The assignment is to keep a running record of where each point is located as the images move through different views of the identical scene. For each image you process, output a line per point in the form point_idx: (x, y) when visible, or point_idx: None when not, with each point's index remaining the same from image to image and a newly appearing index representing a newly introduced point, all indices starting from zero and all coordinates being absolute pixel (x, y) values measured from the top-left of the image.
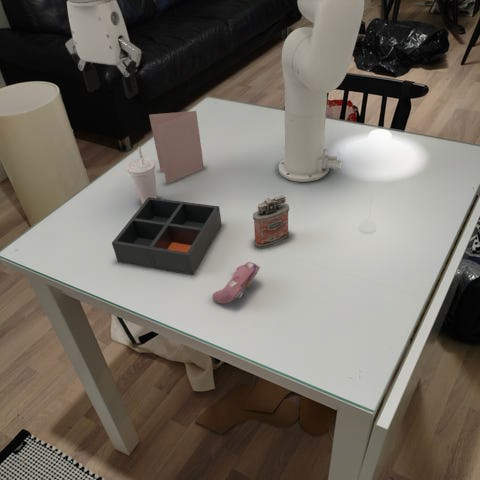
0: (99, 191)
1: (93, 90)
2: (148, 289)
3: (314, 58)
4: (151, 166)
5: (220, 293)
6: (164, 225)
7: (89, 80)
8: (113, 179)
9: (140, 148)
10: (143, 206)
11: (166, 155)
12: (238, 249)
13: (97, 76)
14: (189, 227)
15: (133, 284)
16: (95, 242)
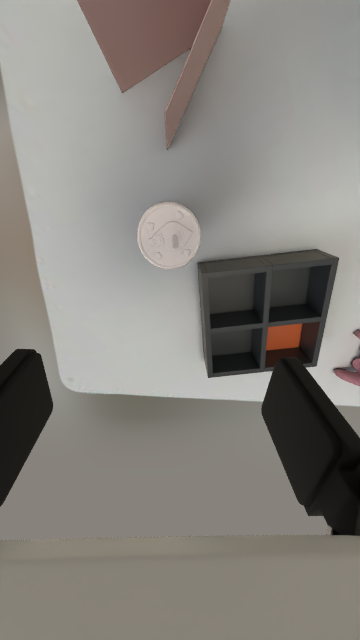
0: (55, 225)
1: (50, 394)
2: (259, 378)
3: None
4: (195, 234)
5: (353, 383)
6: (262, 329)
7: (26, 447)
8: (43, 171)
9: (178, 244)
10: (207, 299)
11: (174, 119)
12: (350, 290)
13: (8, 391)
14: (302, 322)
15: (239, 377)
16: (152, 339)
